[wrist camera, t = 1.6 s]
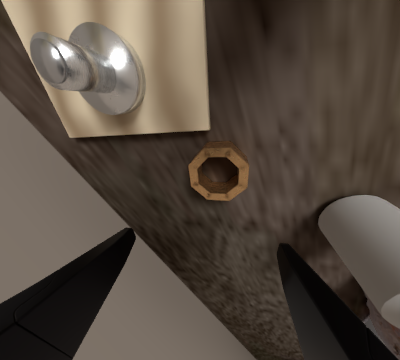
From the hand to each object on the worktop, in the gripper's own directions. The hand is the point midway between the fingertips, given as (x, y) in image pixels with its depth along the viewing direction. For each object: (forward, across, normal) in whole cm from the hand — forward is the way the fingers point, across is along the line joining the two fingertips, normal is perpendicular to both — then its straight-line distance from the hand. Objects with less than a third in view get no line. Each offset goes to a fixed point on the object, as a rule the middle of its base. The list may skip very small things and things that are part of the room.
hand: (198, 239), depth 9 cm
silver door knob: (+11, +11, -11) cm, 19 cm away
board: (+12, +11, -12) cm, 20 cm away
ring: (+12, 0, 0) cm, 12 cm away
